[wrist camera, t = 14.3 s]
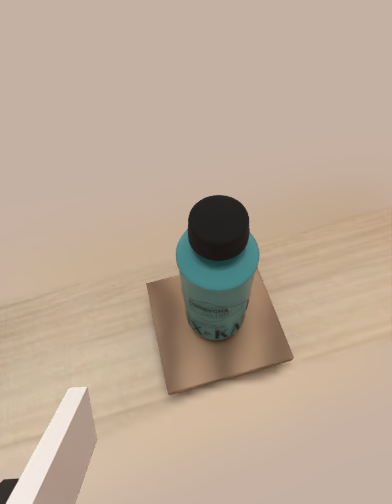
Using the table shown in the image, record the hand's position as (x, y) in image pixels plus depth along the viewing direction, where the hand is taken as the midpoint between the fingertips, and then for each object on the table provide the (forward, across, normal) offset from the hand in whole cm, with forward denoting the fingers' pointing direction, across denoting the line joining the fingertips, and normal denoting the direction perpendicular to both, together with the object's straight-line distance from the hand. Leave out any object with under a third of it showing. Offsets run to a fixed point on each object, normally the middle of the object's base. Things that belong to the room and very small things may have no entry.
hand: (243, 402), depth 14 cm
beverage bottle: (+23, 0, -8) cm, 24 cm away
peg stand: (+26, 0, -11) cm, 29 cm away
